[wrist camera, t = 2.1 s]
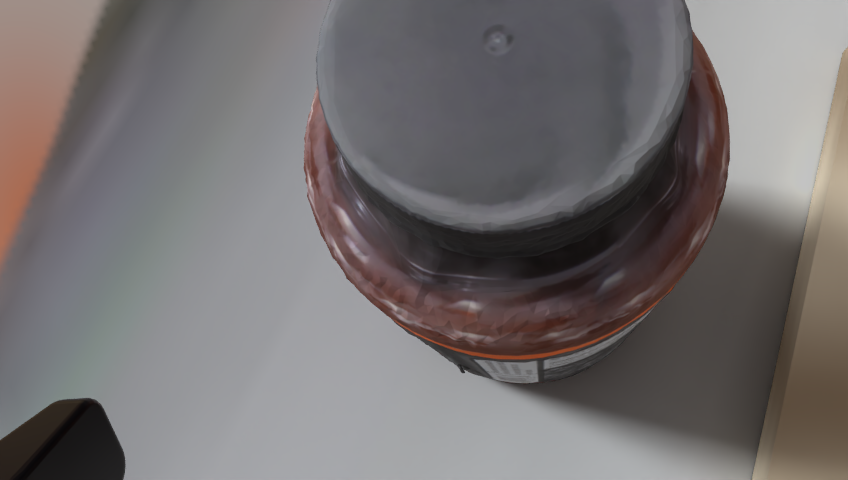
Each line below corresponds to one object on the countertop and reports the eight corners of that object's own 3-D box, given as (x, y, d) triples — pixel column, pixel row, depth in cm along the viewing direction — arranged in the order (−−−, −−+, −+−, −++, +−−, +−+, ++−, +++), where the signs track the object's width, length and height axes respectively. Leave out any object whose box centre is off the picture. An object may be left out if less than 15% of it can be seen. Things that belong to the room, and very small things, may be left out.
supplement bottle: (367, 206, 20) (153, -68, 9) (583, 108, 20) (631, -291, 9) (459, 429, 18) (333, 422, 7) (697, 327, 18) (926, 164, 7)
